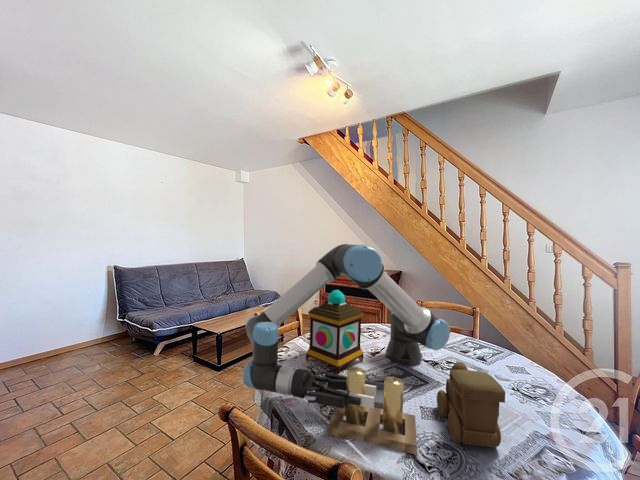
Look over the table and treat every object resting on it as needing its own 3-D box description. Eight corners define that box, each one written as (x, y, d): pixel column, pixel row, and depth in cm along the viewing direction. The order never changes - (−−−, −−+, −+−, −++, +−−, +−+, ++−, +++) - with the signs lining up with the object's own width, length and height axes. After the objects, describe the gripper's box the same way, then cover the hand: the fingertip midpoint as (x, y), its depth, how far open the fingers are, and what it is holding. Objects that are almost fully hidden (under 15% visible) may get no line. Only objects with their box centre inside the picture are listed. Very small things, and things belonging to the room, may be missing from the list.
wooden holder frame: (327, 435, 73) (328, 425, 73) (338, 408, 85) (338, 400, 85) (416, 456, 67) (417, 445, 67) (414, 424, 79) (415, 415, 78)
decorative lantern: (331, 348, 131) (333, 284, 131) (367, 361, 118) (370, 290, 117) (300, 361, 116) (302, 289, 116) (338, 378, 103) (341, 297, 102)
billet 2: (391, 425, 78) (393, 375, 78) (405, 436, 74) (407, 383, 74) (378, 431, 75) (380, 379, 75) (392, 443, 71) (394, 388, 71)
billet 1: (355, 413, 81) (357, 365, 81) (367, 423, 77) (369, 372, 76) (341, 419, 78) (343, 369, 78) (353, 430, 74) (355, 377, 74)
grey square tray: (361, 386, 98) (361, 379, 98) (397, 393, 94) (397, 385, 94) (356, 406, 86) (356, 398, 86) (396, 414, 83) (396, 405, 83)
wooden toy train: (507, 461, 66) (510, 391, 66) (456, 455, 68) (459, 386, 68) (472, 409, 86) (474, 356, 86) (433, 406, 88) (435, 353, 87)
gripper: (304, 379, 91) (377, 393, 84) (281, 412, 74) (370, 432, 67) (305, 356, 91) (378, 368, 84) (282, 384, 74) (371, 401, 67)
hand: (374, 396), depth 76 cm, fingers closed on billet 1, 5 cm apart
